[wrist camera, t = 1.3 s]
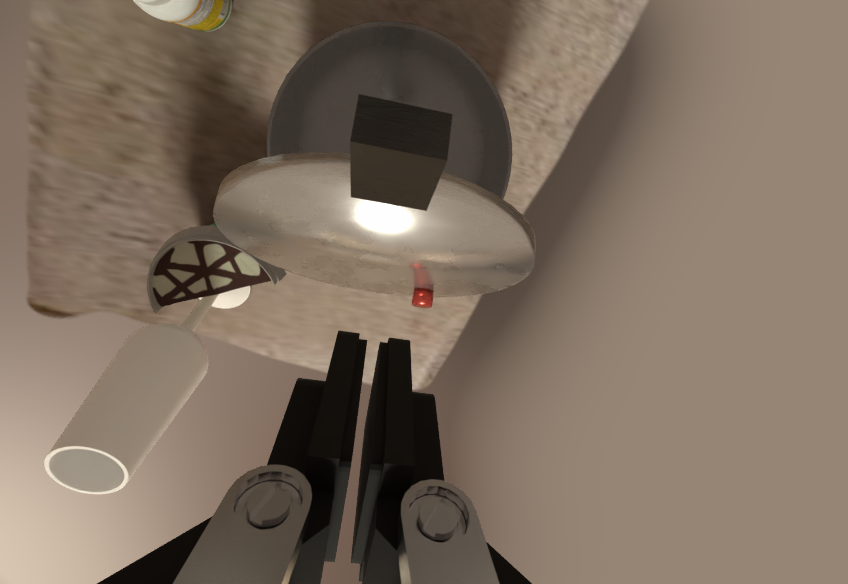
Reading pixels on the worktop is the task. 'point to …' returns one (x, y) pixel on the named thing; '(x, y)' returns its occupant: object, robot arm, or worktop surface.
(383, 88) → the cooker pot
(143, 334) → the champagne flute
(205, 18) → the supplement bottle
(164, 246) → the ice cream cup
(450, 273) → the cooker lid
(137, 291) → the worktop surface
